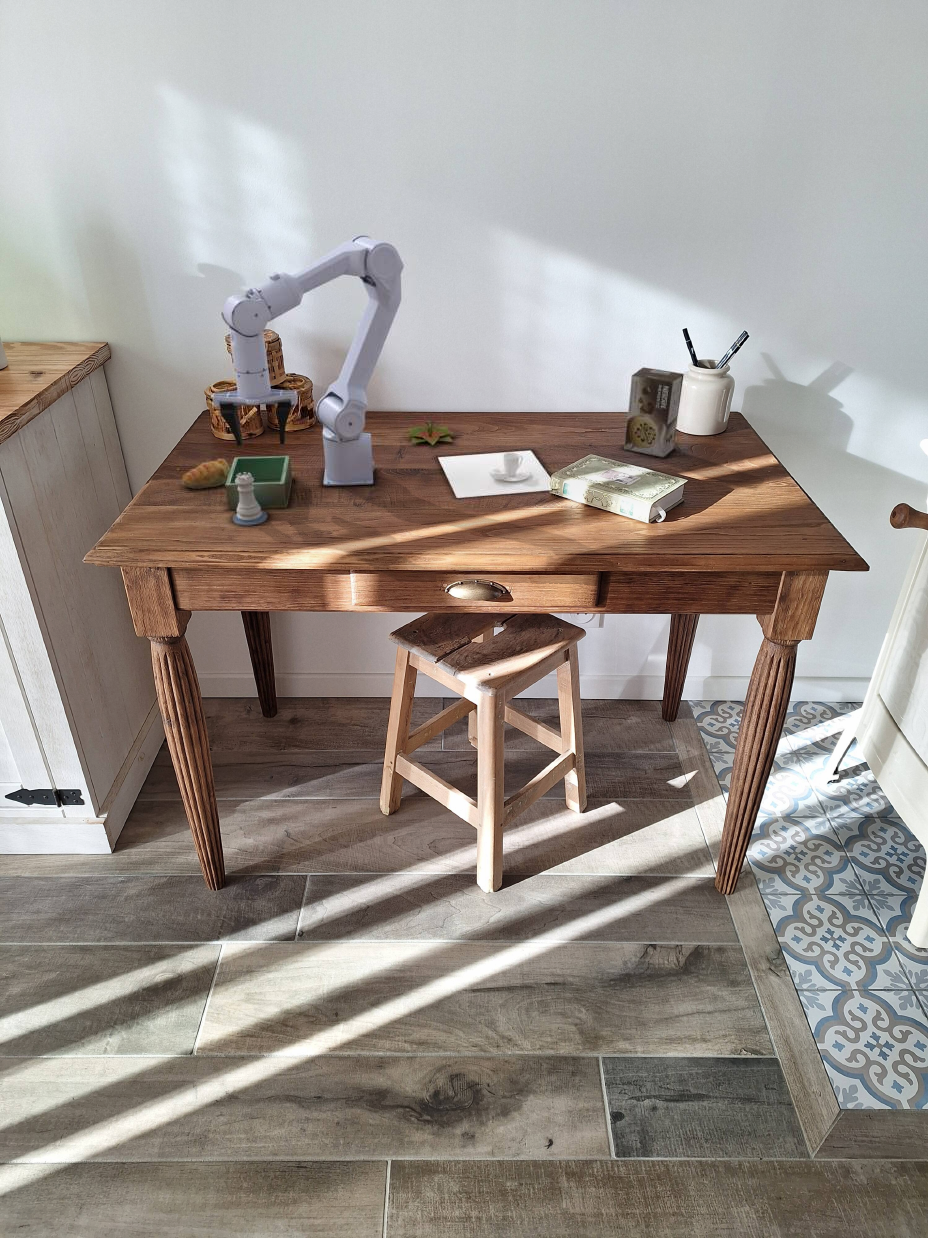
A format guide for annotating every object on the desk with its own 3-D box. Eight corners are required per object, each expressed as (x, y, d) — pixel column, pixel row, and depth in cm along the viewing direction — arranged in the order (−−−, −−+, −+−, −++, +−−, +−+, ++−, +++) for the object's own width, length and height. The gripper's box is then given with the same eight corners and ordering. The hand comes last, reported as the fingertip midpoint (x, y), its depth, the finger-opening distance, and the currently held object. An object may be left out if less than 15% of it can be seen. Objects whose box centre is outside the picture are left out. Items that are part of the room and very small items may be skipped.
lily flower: (453, 426, 191) (453, 406, 188) (460, 446, 181) (461, 426, 179) (400, 428, 190) (399, 409, 187) (404, 449, 180) (404, 428, 177)
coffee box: (674, 448, 181) (685, 373, 172) (663, 458, 176) (674, 381, 168) (634, 439, 185) (643, 365, 176) (622, 449, 181) (631, 373, 172)
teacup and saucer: (491, 485, 165) (492, 465, 162) (482, 468, 171) (483, 449, 169) (535, 481, 166) (536, 461, 164) (524, 465, 173) (525, 446, 170)
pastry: (191, 494, 160) (187, 475, 158) (176, 483, 165) (173, 464, 163) (237, 481, 165) (234, 463, 163) (221, 471, 170) (219, 453, 167)
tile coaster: (268, 510, 155) (268, 508, 155) (265, 525, 150) (265, 523, 150) (235, 511, 154) (235, 509, 154) (230, 526, 149) (230, 524, 149)
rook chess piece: (232, 515, 152) (226, 474, 148) (255, 508, 155) (249, 467, 150) (244, 524, 149) (237, 482, 145) (266, 517, 152) (261, 475, 147)
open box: (292, 479, 166) (289, 455, 164) (286, 507, 156) (283, 483, 153) (238, 480, 166) (234, 457, 163) (229, 509, 155) (225, 485, 152)
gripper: (205, 376, 143) (217, 452, 151) (292, 374, 145) (300, 449, 152) (211, 364, 149) (223, 438, 157) (294, 362, 150) (302, 435, 158)
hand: (261, 442), depth 155 cm, fingers open, 7 cm apart
